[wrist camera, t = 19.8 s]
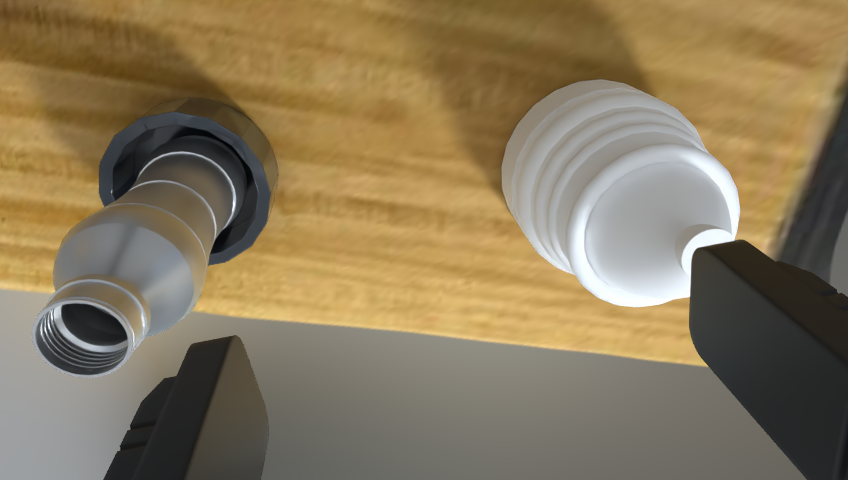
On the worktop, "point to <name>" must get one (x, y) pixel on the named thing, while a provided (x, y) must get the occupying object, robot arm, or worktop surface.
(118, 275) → the silver bottle
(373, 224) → the worktop surface
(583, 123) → the honey pot
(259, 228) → the socket
